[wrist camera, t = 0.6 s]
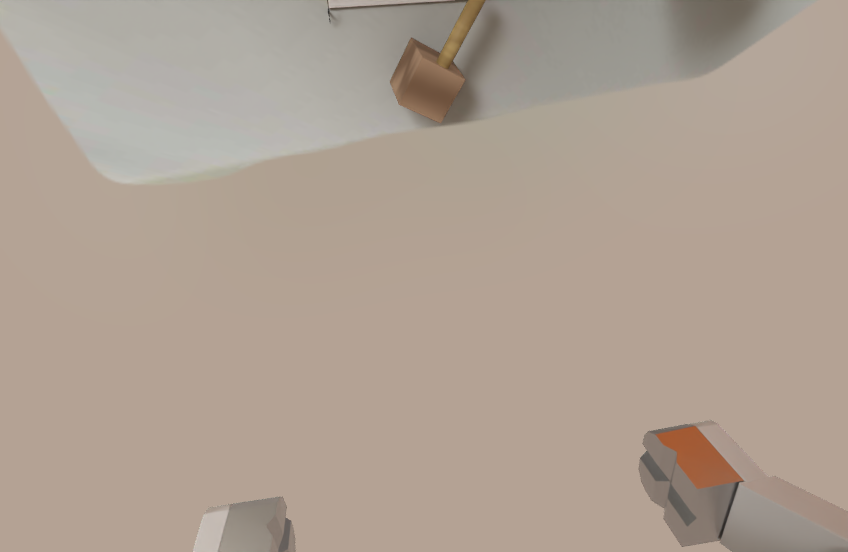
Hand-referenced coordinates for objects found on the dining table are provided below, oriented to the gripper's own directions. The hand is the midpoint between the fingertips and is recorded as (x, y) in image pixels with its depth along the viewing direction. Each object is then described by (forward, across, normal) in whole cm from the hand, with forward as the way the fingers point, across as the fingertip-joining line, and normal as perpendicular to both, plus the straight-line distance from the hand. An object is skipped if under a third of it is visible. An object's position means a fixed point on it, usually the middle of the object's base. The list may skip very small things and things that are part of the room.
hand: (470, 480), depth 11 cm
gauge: (+48, -8, -8) cm, 50 cm away
